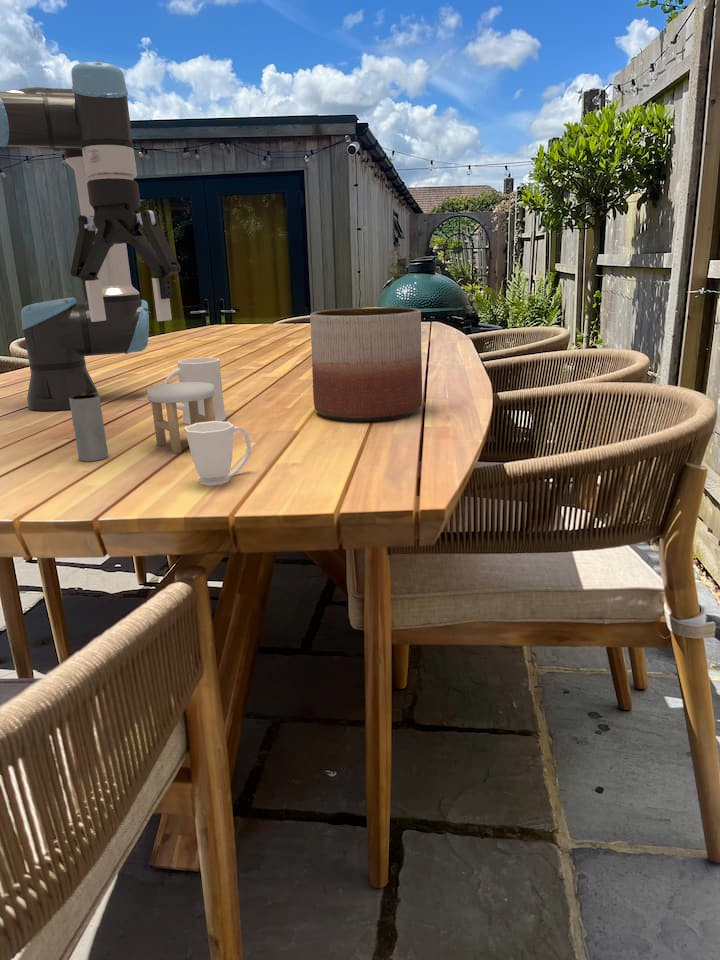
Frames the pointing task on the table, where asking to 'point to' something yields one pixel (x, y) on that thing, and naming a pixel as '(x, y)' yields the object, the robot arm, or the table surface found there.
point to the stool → (172, 396)
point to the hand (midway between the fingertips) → (130, 321)
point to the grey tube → (88, 427)
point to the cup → (214, 450)
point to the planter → (366, 362)
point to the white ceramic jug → (201, 372)
